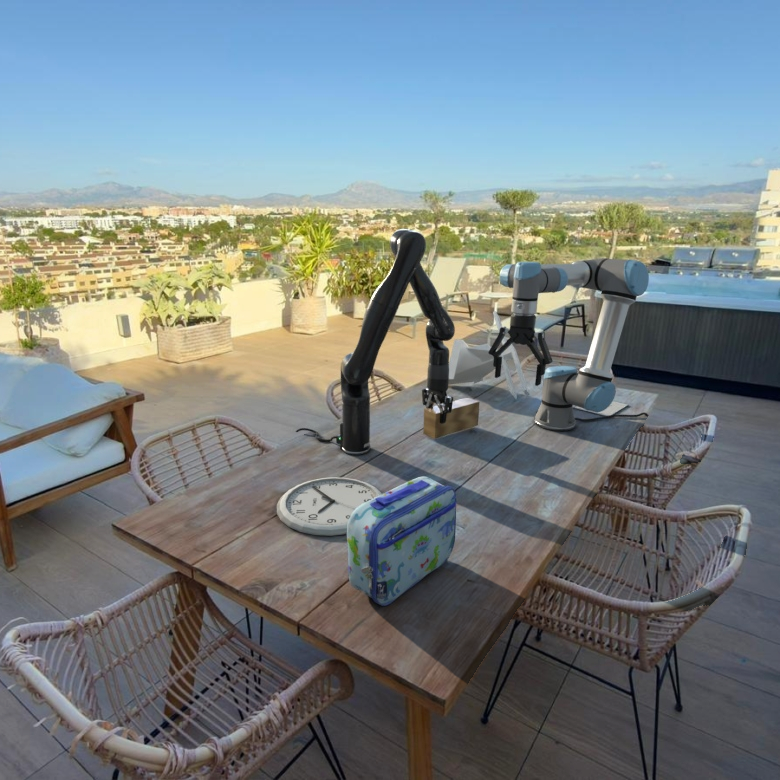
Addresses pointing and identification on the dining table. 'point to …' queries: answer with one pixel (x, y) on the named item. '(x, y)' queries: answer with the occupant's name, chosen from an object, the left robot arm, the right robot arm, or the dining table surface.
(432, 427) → the box
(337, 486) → the wall clock
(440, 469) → the dining table surface
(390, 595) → the lunch box
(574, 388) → the right robot arm
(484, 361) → the white plastic object
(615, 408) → the invitation card
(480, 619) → the dining table surface
